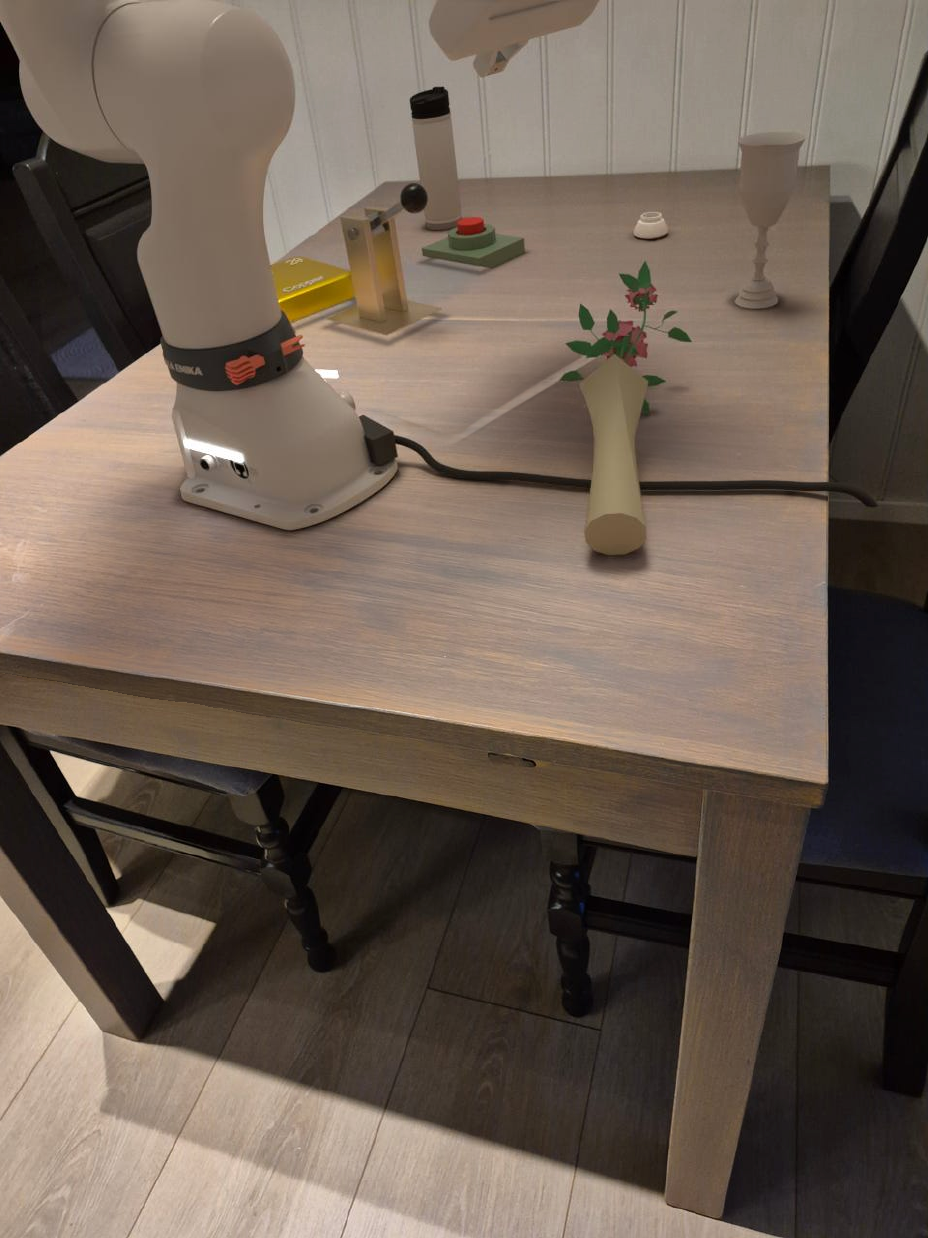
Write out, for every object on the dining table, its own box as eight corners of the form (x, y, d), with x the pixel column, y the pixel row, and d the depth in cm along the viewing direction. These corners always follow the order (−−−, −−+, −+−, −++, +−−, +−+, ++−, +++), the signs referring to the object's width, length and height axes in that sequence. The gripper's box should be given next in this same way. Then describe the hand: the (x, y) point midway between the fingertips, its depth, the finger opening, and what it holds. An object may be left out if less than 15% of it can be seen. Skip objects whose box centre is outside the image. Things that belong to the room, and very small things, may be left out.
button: (490, 230, 133) (489, 218, 132) (472, 238, 131) (470, 226, 130) (470, 227, 135) (469, 215, 134) (452, 235, 133) (451, 223, 132)
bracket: (443, 316, 117) (428, 205, 109) (388, 343, 112) (368, 229, 103) (382, 302, 124) (364, 197, 116) (328, 327, 119) (305, 218, 110)
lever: (437, 203, 103) (425, 175, 102) (417, 210, 101) (405, 182, 100) (378, 240, 113) (367, 215, 112) (359, 247, 111) (348, 222, 110)
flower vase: (578, 613, 78) (584, 367, 99) (719, 584, 73) (693, 332, 94) (527, 526, 70) (545, 278, 91) (682, 486, 65) (662, 234, 86)
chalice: (797, 296, 109) (817, 132, 98) (770, 315, 105) (787, 147, 94) (743, 287, 113) (756, 130, 102) (715, 305, 110) (725, 144, 98)
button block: (525, 252, 134) (523, 224, 132) (480, 273, 129) (477, 245, 127) (467, 243, 141) (465, 216, 139) (423, 262, 136) (419, 235, 134)
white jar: (649, 242, 131) (674, 233, 133) (650, 221, 129) (675, 212, 131) (626, 236, 135) (651, 228, 136) (626, 216, 133) (651, 207, 135)
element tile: (273, 337, 118) (264, 301, 115) (219, 315, 128) (209, 281, 125) (362, 302, 125) (356, 267, 122) (305, 283, 135) (298, 250, 132)
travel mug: (470, 219, 151) (456, 85, 139) (449, 231, 147) (433, 94, 135) (440, 218, 154) (424, 86, 142) (419, 229, 150) (400, 95, 138)
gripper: (611, -107, 80) (535, 24, 92) (456, -82, 70) (393, 62, 82) (652, -50, 81) (571, 74, 92) (504, -16, 70) (434, 118, 82)
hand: (486, 69), depth 87 cm, fingers closed
